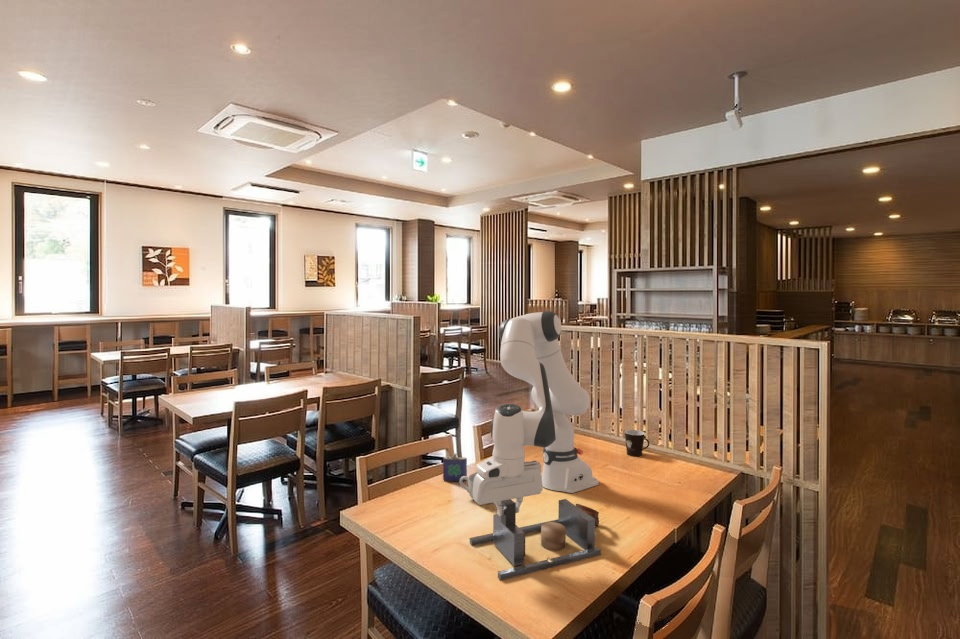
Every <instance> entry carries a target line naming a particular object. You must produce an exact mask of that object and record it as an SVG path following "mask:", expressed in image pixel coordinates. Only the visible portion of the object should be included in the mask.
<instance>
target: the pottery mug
mask: <svg viewBox="0 0 960 639" xmlns="http://www.w3.org/2000/svg"><path fill="white" fill-rule="evenodd" d="M575 506H577V507H578V508H580V509H581V510H582V511H584V512H585V513H587V514H588V515H590V516H591V517H593V518H594V519H595V527H599V525H600V523H599V522H600V520H599V518H600V517H599V514H600V512H599V511H597V510H595V508H592V507H590V506H587V505H586V506H585V505H582V504H579V503H576V504H575Z"/></svg>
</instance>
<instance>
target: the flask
mask: <svg viewBox="0 0 960 639" xmlns="http://www.w3.org/2000/svg"><path fill="white" fill-rule="evenodd" d="M457 455H458V453H457V452H456V453H453V455H452V456H450V455H448V456H444V457H443V460H442V468H443V469H442V471H443V473H442V474H443V476H442V480H444V481H443V482H445V483H446V482H447V483H448V482H449V483H460V482H459V481H460V478H461V477H462V476H467V477H468V468H467V465H468V464H467V463H468V459H467V457H465V456H463V457H458V456H457ZM462 482H463V483H464V482H465V483H466V482H467V480H466V479H463V480H462Z"/></svg>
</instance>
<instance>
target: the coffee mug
mask: <svg viewBox="0 0 960 639" xmlns="http://www.w3.org/2000/svg"><path fill="white" fill-rule="evenodd" d="M645 435H646V434H645V431H642V430H639V429H638V430H636V429H626V430H625V431H624V438H625V447H626V454H627V456H630V457H636V458H637V457H638V458H639V457H641V456H642V455H643V450H646V449H647V448H649V446H650V441H649V439H647V438H645ZM644 441H646V442H647V445H646V446H645V447H644Z"/></svg>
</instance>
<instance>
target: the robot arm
mask: <svg viewBox="0 0 960 639" xmlns="http://www.w3.org/2000/svg"><path fill="white" fill-rule="evenodd" d="M561 334H562V322H561V319H560V317H559V315H558V314H557V313H556V312H554V311H553V310H544V311H542V312H541V311H539V312H537V311H536V312H530V313H526V314H523V315H522V314H521V315H520V316H519V315H518V316H516V317H513V318H511V317H509V318H507V319H505V320H503V321H502V322H501V323H500V325H499V326H498V336H499V340H500V342H501V343H500V344H501V345H500V351H499V352H500V353H499V358H500V359H499V360H500V364H501V367H502V368H503V370H504V371H505V372H506V373H507V374H509V375H510V376H512V377H514V378H516V379H518V380H522V381H523V382H526V383H528V384H530V385H532V388H531V393H530V394H531V395H530V396H531V399H532V401H533V402H534V403H535V405H536V407H537V409H538V410H536V411H528V410H527V411H526V410H525V411H524V410H523V408H522V407H521V406H520V405H518V404H512V403H503V404H500V405H498V406H496V408H495V410H494V415H493V417H492V419H491V421H490V437H491V439H492V440H493V450H492V456H490V457H489V458H486V459H485V460H483V461H480V462H479V463H476V465H475V472H478V473H477V474H476V476H475V478H474V482H473V498H472V500H474V502H475V503H477V504H478V505H481V506H482V505H487V504H494V506H495V507H496V510H497V511H496V512H497V513H496V514H498V515H499V516H504V515H505V513H504V512H505V509H503V508H502V507H501V501H504V500H509V499H511V500H515V501H514V502H515V503H516V514H518V513H520V507H521V505H522V503H523V502H524V498H525V497H530V496H531V497H532V496H535V495H540V494H541V493H542V491H543V488H545V489H547V490H551V491H556V492H563V493H569V494H573V493H576V492H577V493H578V492H580V491H583V490H587V489H590V488H592V487H593V488H594V487H596V486H599V484H600V483H599V479H597V478H596V477H595V476H593V469H592V468H591V466H590V465H589V464H588V463H587V462H586V461H584V460H583V459H582V458H580V457H579V456H578V455H580V456H582V455H583V453H584V450H583V449H581V448H576V446H575V428H574V426H573V424H572V423H571V422H570V421H569V419H568V417H567V415H568V416H581V415H583V414H585V413H586V412H587V410H588V409H589V406H590V402H591V400H590V395H589V392H588V391H587V390H586V389H584V388H583V387H582V386H581V385H580V384H579V383H578V381H577V380H576V379H575V378H574V376H573V375H572V373H571V372H570V370H569V369H568V367H567V364H566V363H565V359H564V357H563V356H564V355H563V352H562V350H561V345H560V343H559V340H558V339H559V337H560V336H561ZM524 446H533V447H538V448H542V449H543V450H542V458H543V465H541V463H540V462H539V461H538V460H531V461H525V450H524ZM542 466H543V467H542Z"/></svg>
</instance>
